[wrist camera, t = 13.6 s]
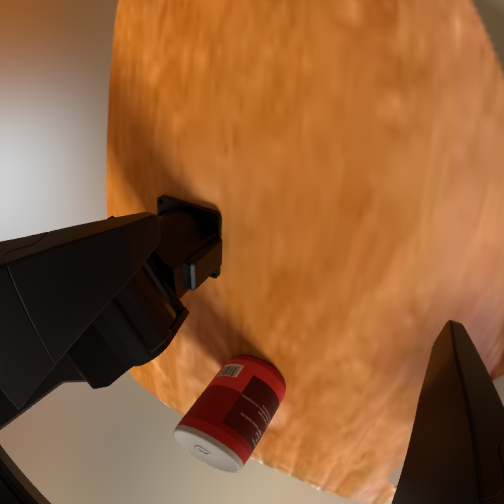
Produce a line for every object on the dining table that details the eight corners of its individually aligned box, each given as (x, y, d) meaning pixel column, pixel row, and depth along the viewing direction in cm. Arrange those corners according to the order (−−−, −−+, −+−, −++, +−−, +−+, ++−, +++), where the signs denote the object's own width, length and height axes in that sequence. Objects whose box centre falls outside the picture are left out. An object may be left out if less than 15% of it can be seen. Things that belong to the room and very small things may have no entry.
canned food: (220, 374, 38) (169, 440, 30) (236, 341, 33) (175, 420, 25) (273, 406, 37) (229, 478, 28) (299, 379, 32) (249, 466, 23)
